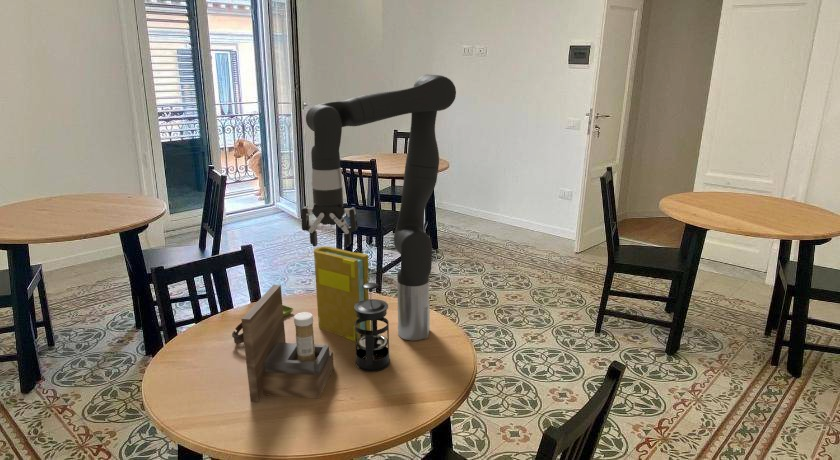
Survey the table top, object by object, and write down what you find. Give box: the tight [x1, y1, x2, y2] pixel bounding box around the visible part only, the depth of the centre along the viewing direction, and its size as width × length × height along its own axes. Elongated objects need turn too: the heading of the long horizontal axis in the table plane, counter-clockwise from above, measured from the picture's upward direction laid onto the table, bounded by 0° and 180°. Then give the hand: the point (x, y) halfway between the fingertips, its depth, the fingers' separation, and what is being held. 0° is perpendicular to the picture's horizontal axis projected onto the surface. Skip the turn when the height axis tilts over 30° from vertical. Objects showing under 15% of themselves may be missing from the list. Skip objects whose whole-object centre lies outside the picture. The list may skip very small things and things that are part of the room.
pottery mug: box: [231, 321, 244, 345], centre depth 157 cm, size 12×10×8 cm
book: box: [313, 245, 371, 342], centre depth 161 cm, size 17×7×25 cm, turn 58°
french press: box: [354, 282, 391, 373], centre depth 142 cm, size 12×9×23 cm
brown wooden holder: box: [241, 284, 335, 403], centre depth 135 cm, size 16×20×22 cm
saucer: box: [282, 304, 294, 318], centre depth 174 cm, size 9×9×2 cm
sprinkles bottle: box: [293, 311, 316, 361], centre depth 134 cm, size 5×5×13 cm
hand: (330, 246), depth 141 cm, fingers open, 8 cm apart
